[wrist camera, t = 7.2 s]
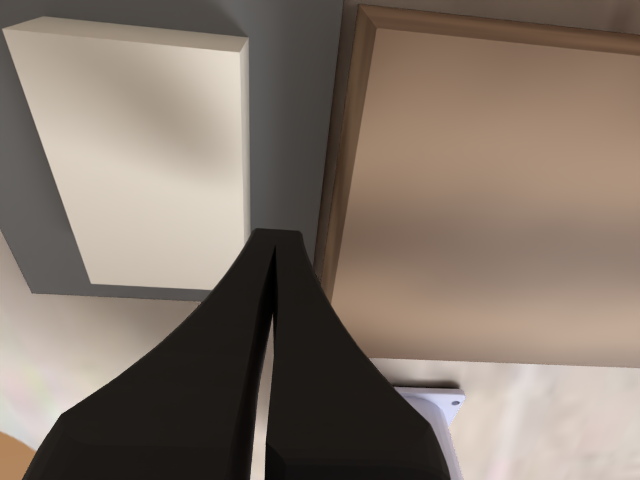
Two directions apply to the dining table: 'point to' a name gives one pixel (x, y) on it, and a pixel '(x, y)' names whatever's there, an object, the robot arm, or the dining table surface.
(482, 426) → the dining table surface
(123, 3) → the mat
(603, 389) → the dining table surface
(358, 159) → the brown wooden block
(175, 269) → the cream rectangular slab
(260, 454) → the dining table surface
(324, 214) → the dining table surface
